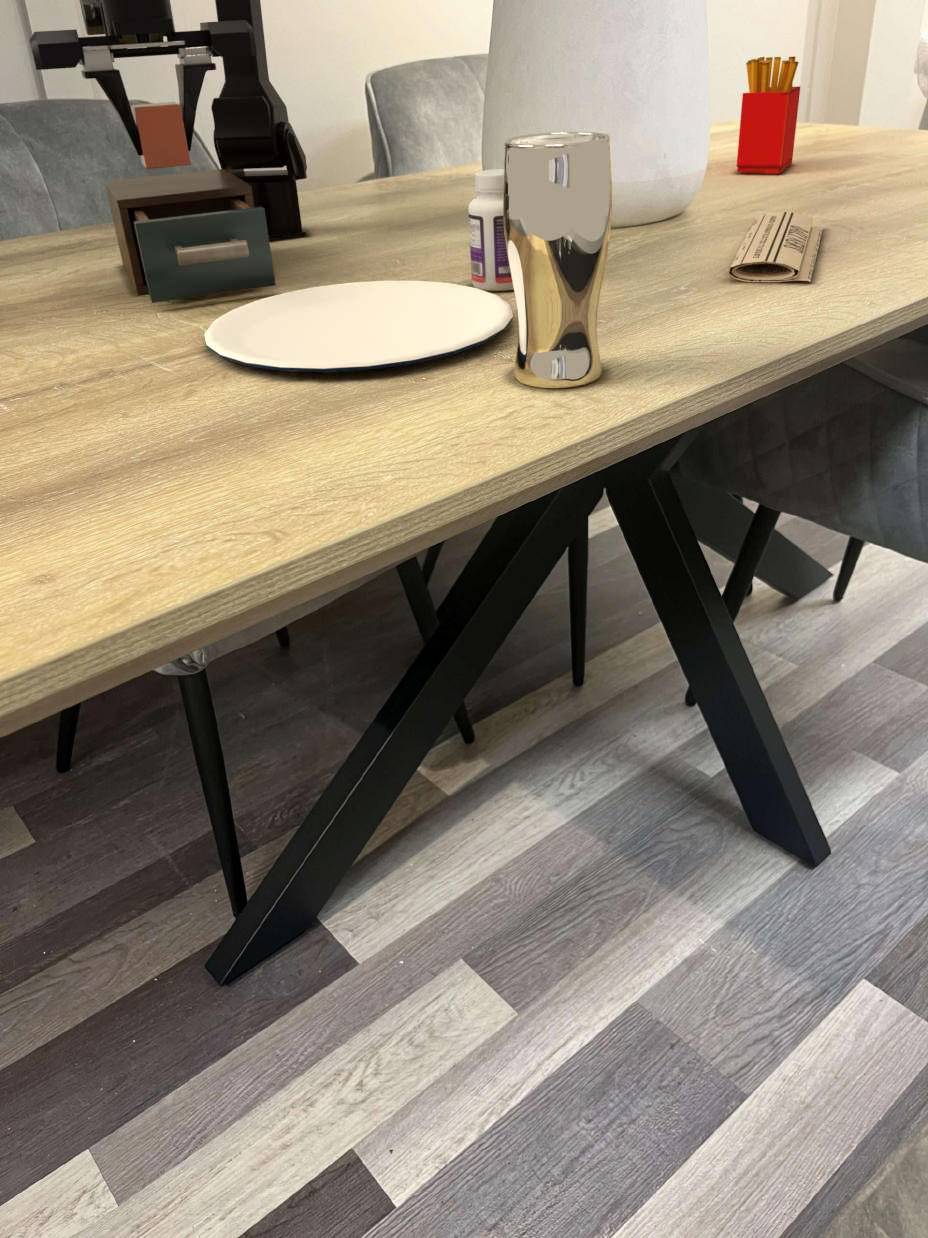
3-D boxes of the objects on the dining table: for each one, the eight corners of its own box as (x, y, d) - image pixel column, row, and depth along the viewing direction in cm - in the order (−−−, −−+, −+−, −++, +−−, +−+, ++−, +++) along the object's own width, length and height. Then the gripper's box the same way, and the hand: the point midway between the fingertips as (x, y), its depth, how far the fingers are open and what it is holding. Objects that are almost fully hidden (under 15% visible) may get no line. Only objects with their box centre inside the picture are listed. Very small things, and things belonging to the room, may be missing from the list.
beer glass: (502, 363, 72) (495, 135, 64) (597, 355, 72) (601, 128, 65) (514, 394, 66) (508, 148, 58) (617, 386, 66) (624, 140, 59)
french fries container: (731, 174, 140) (741, 60, 132) (745, 164, 147) (754, 56, 139) (782, 174, 137) (795, 58, 130) (794, 164, 144) (806, 54, 137)
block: (185, 160, 94) (174, 101, 92) (191, 164, 91) (180, 103, 88) (142, 164, 93) (130, 104, 90) (146, 168, 90) (134, 107, 87)
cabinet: (265, 276, 100) (251, 185, 96) (137, 294, 96) (116, 200, 92) (238, 251, 112) (224, 168, 107) (123, 266, 108) (104, 181, 104)
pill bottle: (536, 278, 93) (535, 166, 88) (520, 293, 89) (518, 176, 84) (482, 277, 95) (477, 166, 90) (463, 291, 91) (458, 176, 86)
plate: (181, 320, 87) (178, 306, 86) (444, 279, 95) (443, 266, 94) (243, 405, 67) (240, 387, 67) (568, 344, 75) (568, 328, 74)
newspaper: (754, 228, 108) (755, 211, 107) (822, 229, 105) (825, 211, 104) (727, 280, 89) (729, 260, 88) (810, 283, 87) (813, 262, 86)
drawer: (286, 295, 89) (274, 214, 86) (157, 313, 86) (140, 231, 83) (247, 259, 104) (236, 189, 100) (136, 273, 100) (120, 202, 97)
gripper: (221, -48, 92) (249, 137, 101) (9, -41, 87) (56, 154, 95) (242, -58, 83) (270, 146, 92) (7, -50, 78) (59, 166, 86)
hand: (164, 152), depth 91 cm, fingers closed on block, 4 cm apart
